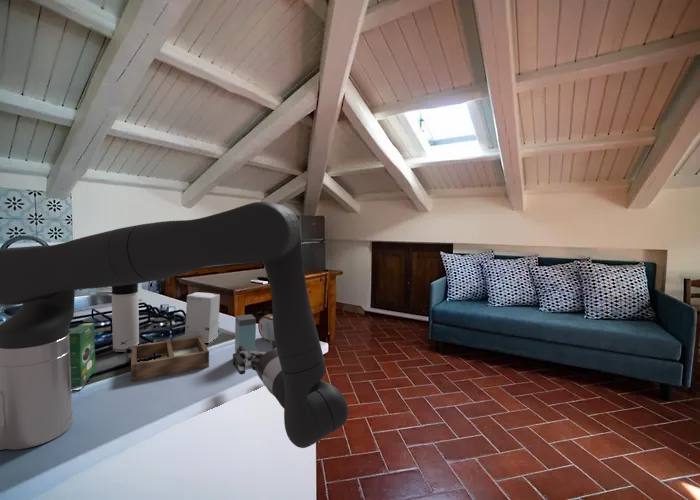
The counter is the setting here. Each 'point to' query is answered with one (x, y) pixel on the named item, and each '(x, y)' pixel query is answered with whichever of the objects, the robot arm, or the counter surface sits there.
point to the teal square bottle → (245, 332)
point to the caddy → (169, 357)
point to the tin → (266, 327)
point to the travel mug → (125, 317)
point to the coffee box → (82, 353)
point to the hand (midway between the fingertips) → (257, 346)
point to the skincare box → (202, 316)
